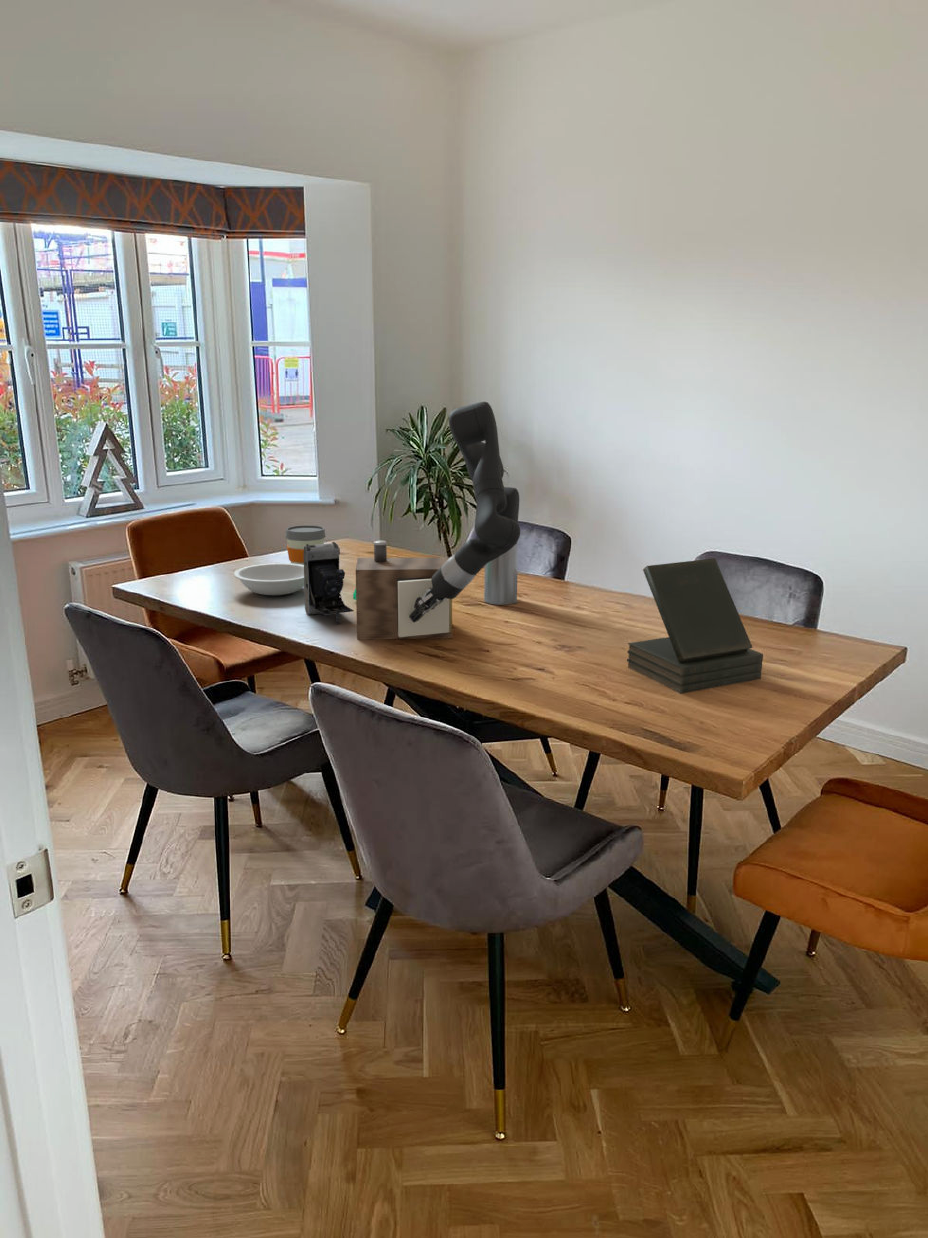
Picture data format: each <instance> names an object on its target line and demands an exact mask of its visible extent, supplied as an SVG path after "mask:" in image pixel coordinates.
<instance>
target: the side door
mask: <svg viewBox="0 0 928 1238" xmlns="http://www.w3.org/2000/svg"><path fill="white" fill-rule="evenodd" d="M430 587H431V588H432V582H431V579H420V580H407V581H398V636H399V637H407V636H417V635H427V634H438V633H448V632H452V633H453V599H445V600H444V601H443V602H442V603H440V604H439V605H438V606H437V607H435V608H434V609H432V610H430V611H429V612H427V613H425V614H424V615H423V616H422V617H421V618H420V619H419V620H418V621H417V622H413V621H412V620H411V619H410V617H409V615H410V614H411V613H412V612H413V611H414V610H415V608H414V605H415V602H416V599H417V598H418V597H421V598H422V597H423V596H424V595H425V593H426V591H427V590H428V589H429V588H430Z"/></svg>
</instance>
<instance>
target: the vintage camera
mask: <svg viewBox="0 0 928 1238" xmlns="http://www.w3.org/2000/svg"><path fill="white" fill-rule="evenodd" d="M340 555H341V548H340V546H339V544H338V543H337V542H335V541H332V543H331V542H330V543H324V544H319V545H308V544H306V546H304V554H303V556H304V587H303V588H304V591H303V592H304V594H303V595H304V611H305V615H308V616H310V615H319V614H322V615H324V616H328V615H335V619H336V620H335V621H336V625H341V620H340V614H345V613H351V612H354V611H355V610H354V609H352V608H350V607H349V606H347V605H345V603H344V600H343V598H342V595H341V592H342V590H343V588H344V579H345V576H346V575H345V574H346V572H345V570H344V569H341V568H340Z"/></svg>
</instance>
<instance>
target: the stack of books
mask: <svg viewBox="0 0 928 1238" xmlns="http://www.w3.org/2000/svg"><path fill="white" fill-rule="evenodd" d="M642 572H643V574H644V577H645V580H646V581H647V584H648V587H649V589H650V592H651V594H652V596H653V600H654V602H655V604H656V607H657V610H658V612H659V615H660V617H661V620H662V623H663V624H664V627H665V631H666V633H667V635H668V636H665V637H660V638H655V639H648V640H642V641H634V642H633V641H632V642H627V644H628V645H629V646H628V647H629V648H628V650H627V653H628V658H627V659H626V662H627V663H628V664H627V668H629V669H630V670H632V671H634V672H636V673H639V674H641V675H642V676H644V677H647V678H648V679H650V680H653V681H655V682H656V683H658V684H661V685H663V686H664V687H666V688H669V689H670V690H673V691H675V692H677V693H678V694H679V695H683V694H686V693H692V692H697V691H703V690H708V689H712V688H713V689H714V688H719V687H723V686H724V687H725V686H730V685H735V684H739V683H746V682H751V681H756V680H761V678H762V671H763V662H764V661H763V660H764V653H762V652H760V651H757V650H754V649H753V645H752V642H751V639H750V638H749V636H748V634H747V631H746V628H745V627H744V626H745V625H744V624H743V622H742V618H741V617H740V614H739V612H738V611H739V610H738V609H737V607H736V605H735V603H734V600H733V598H732V594H731V593H730V591H729V587H728V586H727V583H726V581H725V578H724V577H723V574H722V571H721V569H720V566H719V565H718V562H717V559H716V558H715V557H714V558H706V559H698V560H696V559H695V560H688V561H679V562H671V563H670V562H669V563H659V564H654V565H653V564H652V565H646V566H645V567H644V568H643V569H642Z"/></svg>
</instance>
